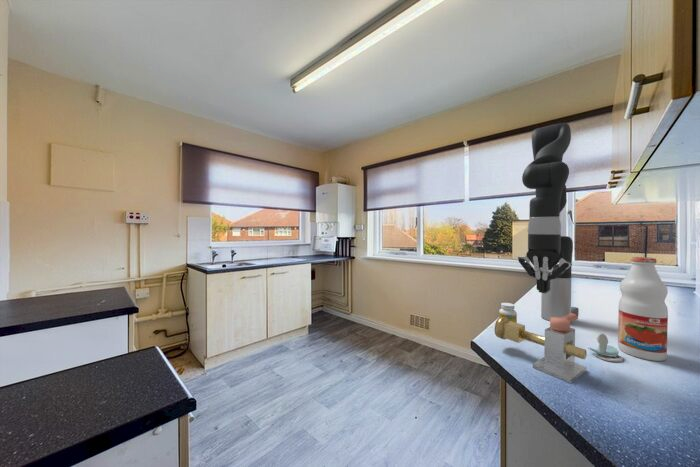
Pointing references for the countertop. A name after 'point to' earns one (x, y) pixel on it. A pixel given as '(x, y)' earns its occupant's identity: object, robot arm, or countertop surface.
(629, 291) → the fruit juice
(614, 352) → the pacifier
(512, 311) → the supplement bottle
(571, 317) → the lock lever
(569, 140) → the robot arm
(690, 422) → the countertop surface
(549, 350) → the eye bracket
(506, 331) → the gold bolt
